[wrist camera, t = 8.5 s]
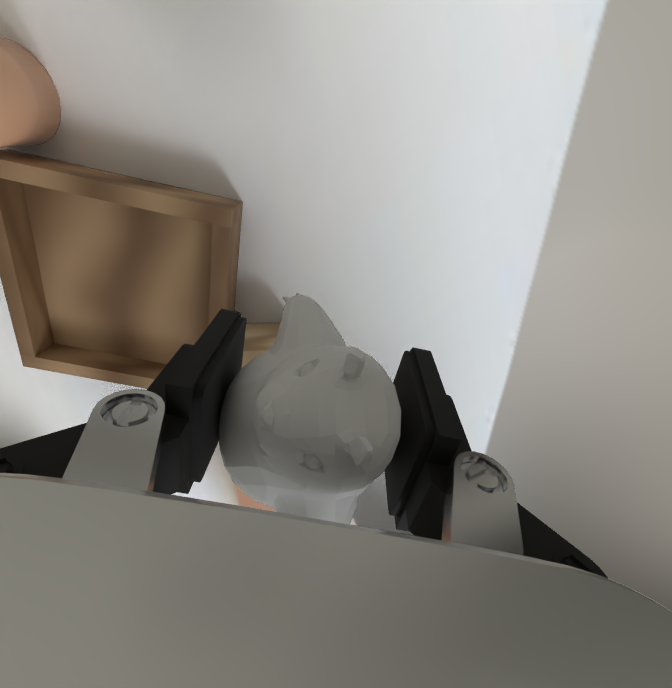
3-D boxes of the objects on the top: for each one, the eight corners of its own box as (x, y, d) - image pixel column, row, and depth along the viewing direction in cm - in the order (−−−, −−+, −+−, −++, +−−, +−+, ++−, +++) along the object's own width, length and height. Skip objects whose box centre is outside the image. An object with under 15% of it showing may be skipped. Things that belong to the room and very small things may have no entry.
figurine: (222, 320, 14) (206, 169, 6) (375, 322, 15) (504, 202, 8) (221, 567, 12) (195, 766, 4) (397, 541, 13) (600, 655, 6)
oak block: (295, 321, 28) (286, 349, 24) (300, 367, 30) (293, 399, 26) (241, 323, 28) (225, 351, 24) (250, 368, 30) (237, 400, 26)
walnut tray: (242, 201, 23) (231, 210, 21) (228, 381, 30) (218, 401, 28) (7, 149, 22) (-32, 152, 20) (48, 347, 29) (23, 366, 27)
